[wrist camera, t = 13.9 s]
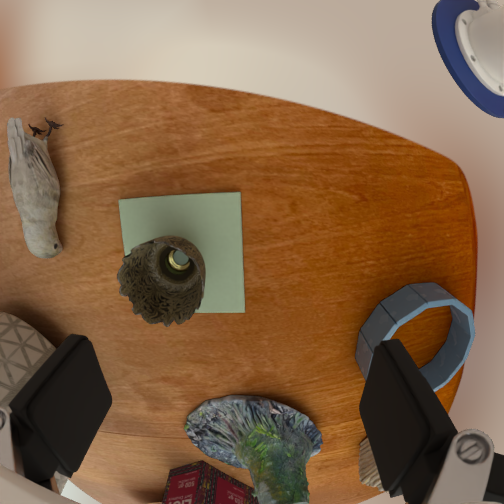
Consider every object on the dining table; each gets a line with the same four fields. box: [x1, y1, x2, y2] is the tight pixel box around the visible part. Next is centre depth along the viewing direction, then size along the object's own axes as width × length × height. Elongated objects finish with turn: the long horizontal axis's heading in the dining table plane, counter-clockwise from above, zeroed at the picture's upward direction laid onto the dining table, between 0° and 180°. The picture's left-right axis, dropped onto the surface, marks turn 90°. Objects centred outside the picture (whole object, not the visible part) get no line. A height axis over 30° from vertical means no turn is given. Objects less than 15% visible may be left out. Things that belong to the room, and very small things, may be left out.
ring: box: [355, 282, 475, 392], centre depth 32 cm, size 16×16×5 cm
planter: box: [0, 312, 69, 495], centre depth 26 cm, size 25×25×24 cm
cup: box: [117, 235, 206, 327], centre depth 27 cm, size 8×7×8 cm
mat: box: [119, 192, 245, 313], centre depth 31 cm, size 13×13×1 cm
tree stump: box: [184, 395, 323, 504], centre depth 33 cm, size 18×20×18 cm
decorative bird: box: [7, 118, 63, 258], centre depth 25 cm, size 5×16×7 cm, turn 3°
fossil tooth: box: [359, 438, 389, 493], centre depth 35 cm, size 12×6×15 cm
